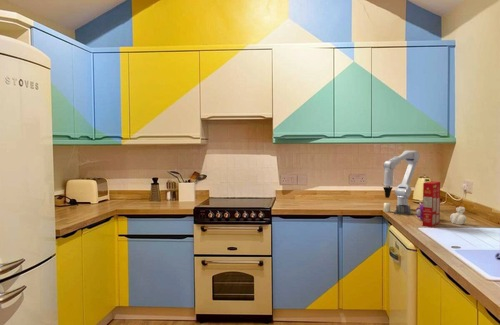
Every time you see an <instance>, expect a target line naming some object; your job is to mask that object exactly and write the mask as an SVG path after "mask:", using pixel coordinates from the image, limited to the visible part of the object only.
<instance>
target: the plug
mask: <svg viewBox="0 0 500 325" xmlns="http://www.w3.org/2000/svg"><path fill="white" fill-rule="evenodd" d="M383 212H384V213H391V202H383Z"/></svg>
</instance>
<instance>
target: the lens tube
mask: <svg viewBox="0 0 500 325" xmlns="http://www.w3.org/2000/svg"><path fill="white" fill-rule="evenodd" d="M395 207H396V209H395V210H394V212H393V215H403V216H404V215H406V216H411V215H412V214H413V210H411V205H409V204H408V205H396V206H395Z"/></svg>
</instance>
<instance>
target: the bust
mask: <svg viewBox="0 0 500 325" xmlns="http://www.w3.org/2000/svg"><path fill="white" fill-rule="evenodd" d="M455 211H456V212H455V213H451V214H450V216H449V221H450V222H451V223H452V224H456V225H463V224H465V223H466V221H467V217H466V215H465V214H464V213H465V212H466V208H465V207H464V206H459V207H458V206H457V207H456V209H455Z"/></svg>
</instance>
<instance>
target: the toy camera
mask: <svg viewBox="0 0 500 325" xmlns="http://www.w3.org/2000/svg"><path fill="white" fill-rule="evenodd" d="M418 206H419V207H416V209H415V216H416V217H417V218H419V219H421V220H423V203H421V204H419V205H418Z"/></svg>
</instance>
